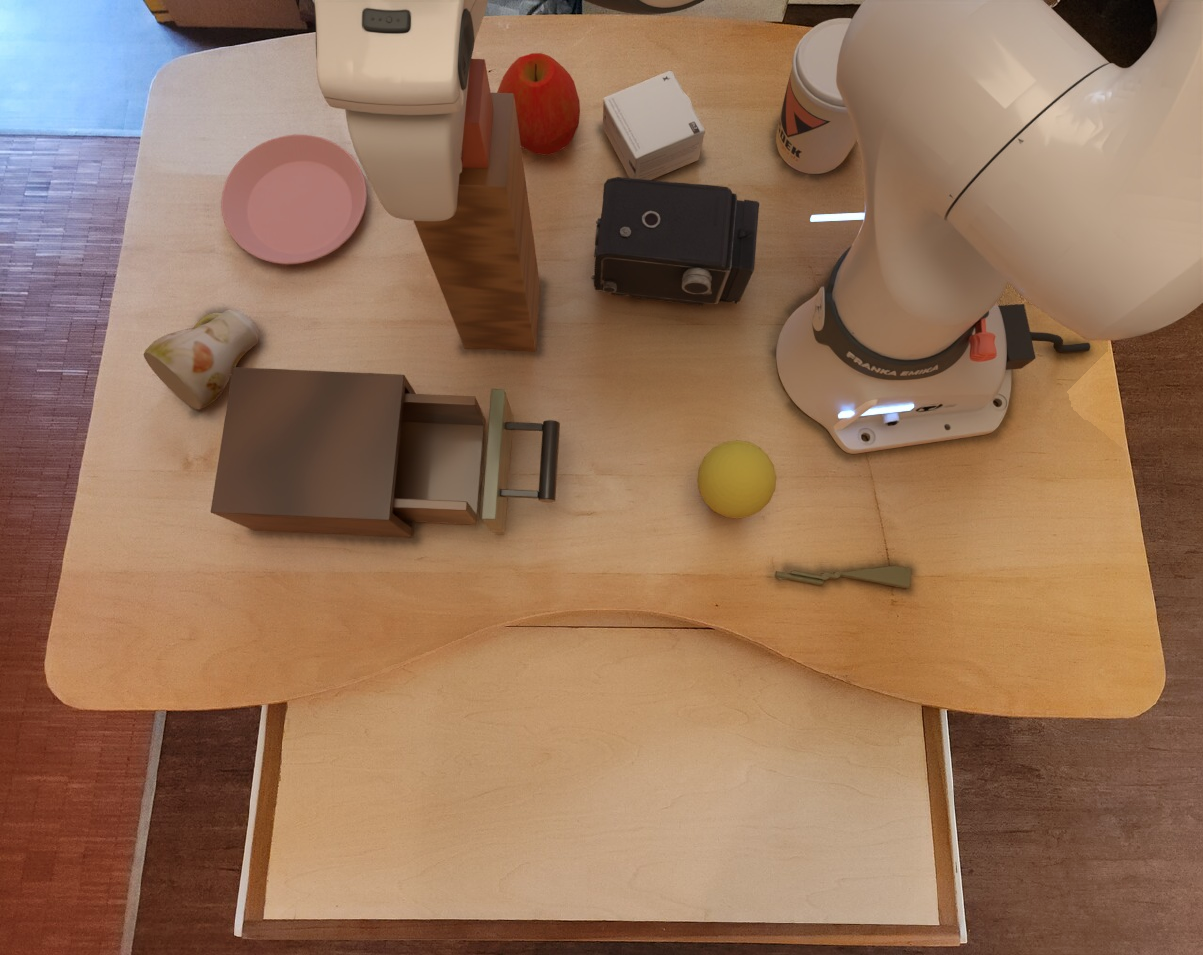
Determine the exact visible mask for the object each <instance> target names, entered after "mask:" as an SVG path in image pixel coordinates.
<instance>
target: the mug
mask: <svg viewBox="0 0 1203 955" xmlns="http://www.w3.org/2000/svg"><path fill="white" fill-rule="evenodd" d="M258 343H259V330H258V328H257V326H256V324H255V322H254V321H253V320H252V319H251V318H250V316H248V314H245V313H244V312H242V311H241V310H237V309H226V310H225V311H223V312H222V313H221V312H213V313H209V314H207V315H205V316H203V317H201V318H200V320H199V321H198V322H197V323H196V324H194V326H193V327H189V328H185V329H181V330H177V331H174V332H171V333H167V334H165V335H163V336H161V337H159V338H157V339H156V340H154V341H153V342H152V343H150V345H149V346H147V348H146V349H145V351H144V352H143V357H144V360H145V361H146V363H147V365H148V366H149V367H150V369H151V371H153V373H154V374H155V375H156V376H157V377H158V378H159V380H160V381H161V382H162V383H163V384H164V385H165V386H166V387H167V388H168V389H169V390H170V391H171V392H172V393H174V395H176V396H177V397H178V398H179V399H180V400H181V401H182V402H184V403H185V404H186V405H188V406H189V407H191V408H192V409H194V410H200V409H201V410H202V409H204V408H205V407H208V406H209V405H210V404H212V403H213V402H215V401H216V400H217V399H218V398H219V397H220V395H222V393H223V391H224V390H225V387H226V386H227V385H228V383H229V381H230V380H231V376H232V370H233V367H237V365H238V363H239V361H240V360H241V358H242V357H243V356H244V355H245V354H246V353H247V352H248V351H249V350H251V349H252V348H254V346H256V345H257V344H258Z"/></svg>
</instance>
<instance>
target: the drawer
mask: <svg viewBox="0 0 1203 955" xmlns="http://www.w3.org/2000/svg"><path fill="white" fill-rule="evenodd" d="M512 410H513V409H512V407H511V404H510V401H509V398H508V394H507V392H506V389H503V388H491V389H490V401H489V415H488V428H487V440H486V451H485V452H486V453H485V465H484V466H485V467H484V477H483V478H484V480H483V490H482V503H481V516H480V517H481V520H482V522H483V523H484V524H485V526H486V527H487V529H488V530H489V531H490V533H491V534H496V535H497V534H498V535H504V534H505V533H506V523H507V522H506V521H507V508H508V507H507V506H508V498H511V499H513V498H514V499H515V498H517V499H537V500H538V501H539V502H541V503H554V502H556V499H557V485H558V484H557V482H558V468H559V467H558V465H559V448H560V432H561V429H560V428H561V423H560V422H559V421H557V420H554V419H547V420H544V421H543V422H542V423H539V422H537V423H536V422H517V421H516V422H515V421H514V414H513V411H512ZM486 423H487V422H486V417H485V415H484V413H483V410H482V408H481V405H480V404H479V401H478V398H477V397H476V395H475V396H473V395H472V396H471V395H450V394H446V395H445V394H431V393H430V394H429V393H428V394H427V393H416V394H408V393H404V403H403V413H402V423H401V432H400V442H399V452H398V461H397V471H396V481H395V491H394V500H393V510H392V513H393V514H394V515H395V516H397V517H398V518H399V519H400V520H402V521H407V522H414V523H431V524H433V523H434V524H453V525H454V524H456V525H476V526H477V525H479V524H478V523H479V511H480V500H481V498H480V497H481V485H482V471H483V461H484V460H483V459H484V448H485V433H486ZM513 431H515V432H516V431H520V432H541V446H540V448H541V449H540V464H539V480H538V490H531V489H509V479H510V465H511V451H512V449H511V448H512V436H513Z"/></svg>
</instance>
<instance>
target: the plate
mask: <svg viewBox="0 0 1203 955" xmlns="http://www.w3.org/2000/svg"><path fill="white" fill-rule="evenodd" d="M367 191H368V190H367V184H366V180H365V175H364V173H363V171H362V168H361V167H360V165H359V164H358V162H357V161H356V159H355V158H354V157H353V155H351V154H350V153H349V152H348V151H347V150H346V149H345V148H344V147H342V146H340V144H337V143H336V142H333V141H331V140H329V139H327V138H325V137H324V138H323V137H320V136H317V135H312V134H288V135H282V136H278V137H274V138H271V139H269V140H266V141H264V142H262V143H260V144H258V145H256V146H255V147H254V148H252V149H250V150H249V151H248V152H246V153H245V154H244V155H243V156H242V157H240V159H239V160H238V161H237V162H236V163H235V165H234V166H233V168H232V169H231V170H230V172H229V174H228V176H227V178H226V180H225V182H224V185H223V189H222V193H221V201H220V202H221V203H220V204H221V206H220V207H221V215H222V220H223V223H224V226H225V228H226V230H227V232H228V233H229V235H230V237H231V239H232V240H234V242H235V243H236V244H237V245H238V246H239V247H240V248H241V249H242V250H244V251H245V252H247V253H248V254H250V256H251V255H252V256H253V257H255V258H258V259H260V260H261V261H265V262H268V263H271V264H272V263H273V264H278V265H298V264H304V263H309V262H313V261H316V260H318V259H322V258H324V257H326V256H328V255H329V254H331V253H333V252H334V251H336V250H337V249H339V248H340V247H341V246H343V245H344V244H345V242H347V241H348V240H349V239H350V238H351V237H352V235H353V234H354V233H355V231H356V230H357V229H358V227H359V225H360V223H361V221H362V219H363V217H364V214H365V210H366V205H367V198H368V196H367V194H368V192H367Z"/></svg>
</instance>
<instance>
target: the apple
mask: <svg viewBox="0 0 1203 955" xmlns="http://www.w3.org/2000/svg"><path fill="white" fill-rule="evenodd" d="M575 83H576V82H575V80H574V78H573V77H572V76H571V74H570V73H569V72H568V71H567V69H566V68H565V67H564V66H562V64H560V63H559V62H558V61H557V60H556V59H554V57H551V56H550V55H549V54H545V53H542V52H533V53H529V54H526V55H522V56H519V57H517V59H516V60H514V61H513V62H512V63H511V65H510V66H509V68H508V69H507V70H506V71H505V74H503V77H502V79H501V81H500V84H499V86H498V89H497V91H496V93H513V94H514V99H515V106H516V114H517V121H518V128H519V135H520V143H521V148H523V149H524V150H527V151H529V152H531V153H533V154H538V155H543V156H549V155H553V154H558V153H559V152H560V151H562V150H564V148H566V147H568V146H569V144H570V143H571V141H573V139H574V137H575V135H576V132H577V130H578V127H579V124H580V114H581V106H580V98H579V94H578V90H577V87H576V84H575Z"/></svg>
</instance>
